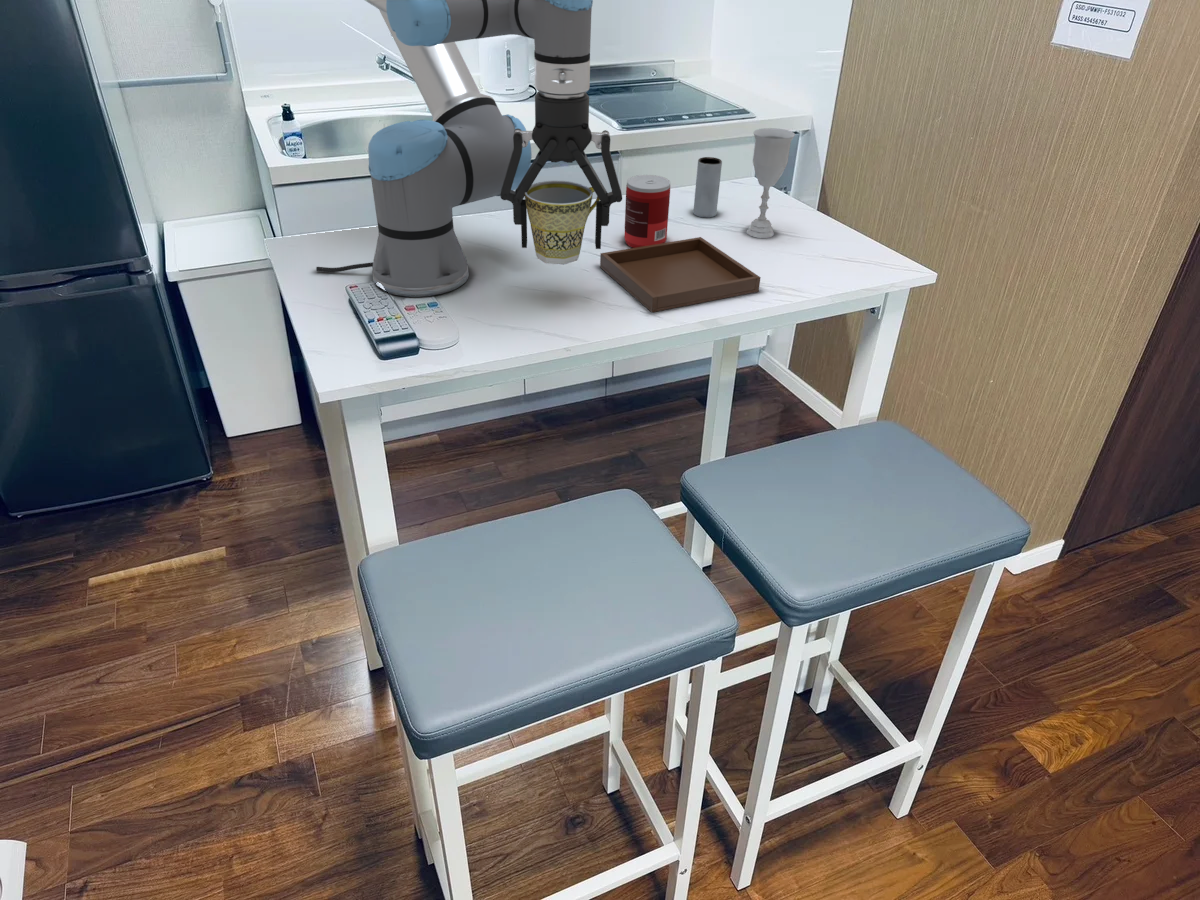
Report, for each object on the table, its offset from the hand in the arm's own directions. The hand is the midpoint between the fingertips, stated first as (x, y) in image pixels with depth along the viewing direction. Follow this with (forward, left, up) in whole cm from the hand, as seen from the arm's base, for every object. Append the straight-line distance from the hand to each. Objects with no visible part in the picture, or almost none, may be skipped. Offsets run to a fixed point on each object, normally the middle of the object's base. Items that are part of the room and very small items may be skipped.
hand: (561, 245), depth 128 cm
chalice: (+37, +27, -8) cm, 47 cm away
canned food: (+15, +22, -8) cm, 28 cm away
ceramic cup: (+1, 0, -2) cm, 2 cm away
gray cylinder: (+28, +37, -8) cm, 47 cm away
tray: (+19, +6, -8) cm, 22 cm away
